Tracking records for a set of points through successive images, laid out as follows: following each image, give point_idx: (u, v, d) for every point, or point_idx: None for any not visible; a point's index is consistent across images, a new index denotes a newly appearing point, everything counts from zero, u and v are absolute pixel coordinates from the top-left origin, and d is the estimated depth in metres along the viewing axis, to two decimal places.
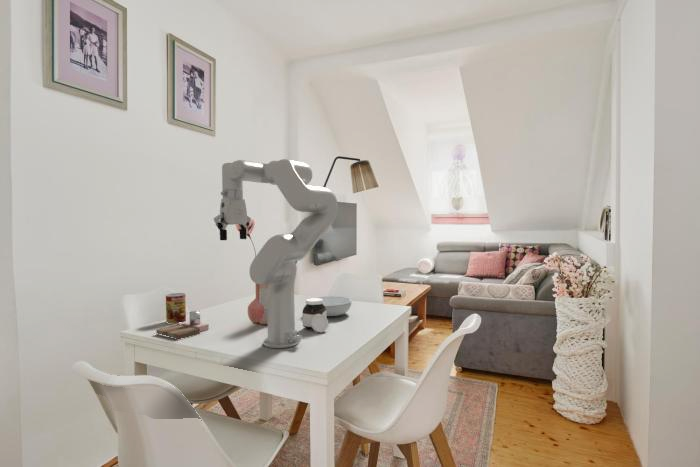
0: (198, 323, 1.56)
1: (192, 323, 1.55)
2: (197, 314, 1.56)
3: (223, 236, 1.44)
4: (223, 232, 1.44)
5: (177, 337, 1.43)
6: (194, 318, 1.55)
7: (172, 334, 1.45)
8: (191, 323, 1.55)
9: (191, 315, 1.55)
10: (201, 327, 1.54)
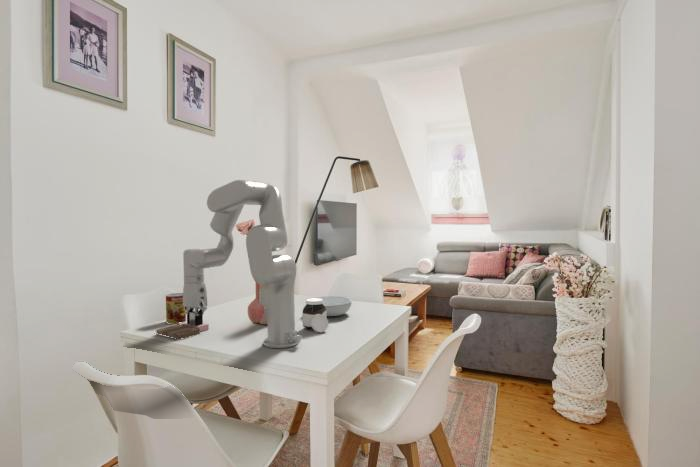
0: None
1: (192, 323, 1.55)
2: None
3: None
4: None
5: (177, 337, 1.43)
6: (194, 318, 1.55)
7: (172, 334, 1.45)
8: (191, 323, 1.55)
9: (191, 315, 1.55)
10: (201, 327, 1.54)
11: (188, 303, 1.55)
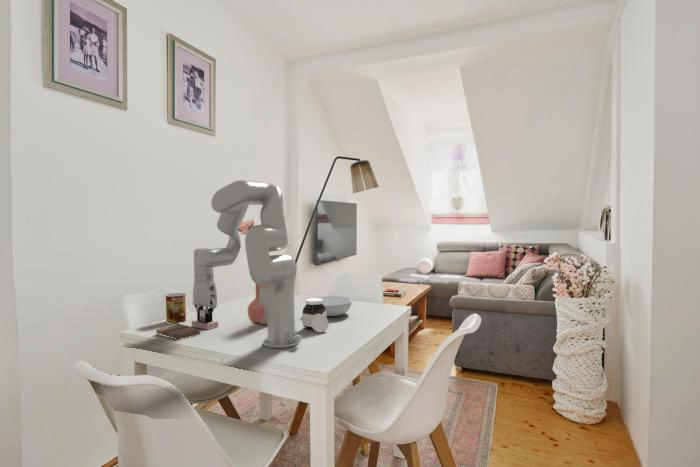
0: None
1: (202, 320, 1.59)
2: None
3: None
4: None
5: (177, 337, 1.43)
6: (204, 315, 1.59)
7: (172, 334, 1.45)
8: (201, 320, 1.59)
9: (201, 313, 1.59)
10: (211, 324, 1.58)
11: (198, 301, 1.59)
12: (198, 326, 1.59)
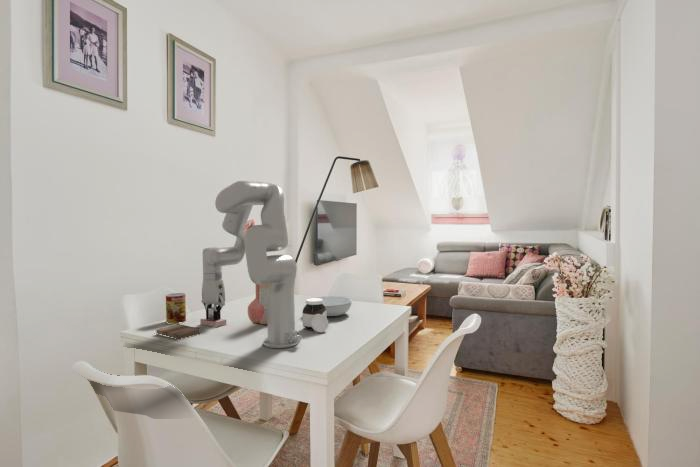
0: None
1: (211, 318, 1.63)
2: None
3: None
4: None
5: (177, 337, 1.43)
6: None
7: (172, 334, 1.45)
8: (210, 318, 1.63)
9: (210, 311, 1.63)
10: (219, 322, 1.61)
11: (207, 299, 1.63)
12: (207, 324, 1.63)
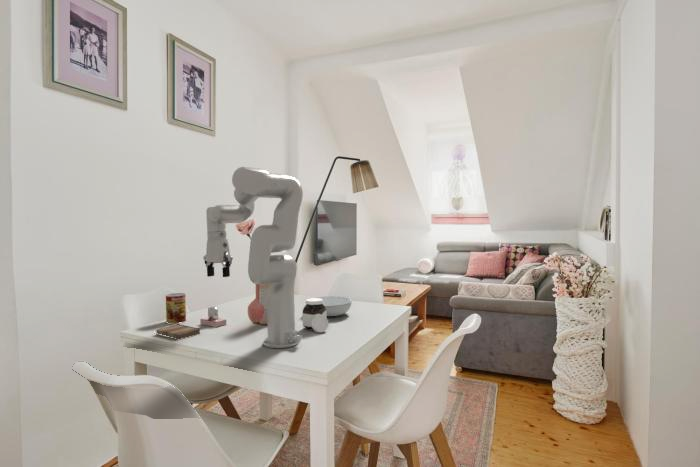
0: (216, 318, 1.64)
1: (211, 318, 1.63)
2: (215, 310, 1.63)
3: None
4: None
5: (177, 337, 1.43)
6: (213, 313, 1.63)
7: (172, 334, 1.45)
8: (210, 318, 1.63)
9: (210, 311, 1.63)
10: (219, 322, 1.61)
11: (212, 258, 1.62)
12: (207, 324, 1.63)
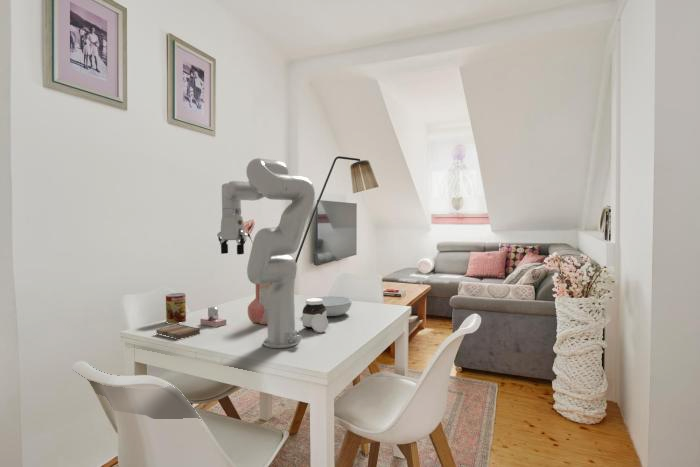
0: (216, 318, 1.64)
1: (211, 318, 1.63)
2: (215, 310, 1.63)
3: None
4: None
5: (177, 337, 1.43)
6: (213, 313, 1.63)
7: (172, 334, 1.45)
8: (210, 318, 1.63)
9: (210, 311, 1.63)
10: (219, 322, 1.61)
11: (226, 235, 1.60)
12: (207, 324, 1.63)
